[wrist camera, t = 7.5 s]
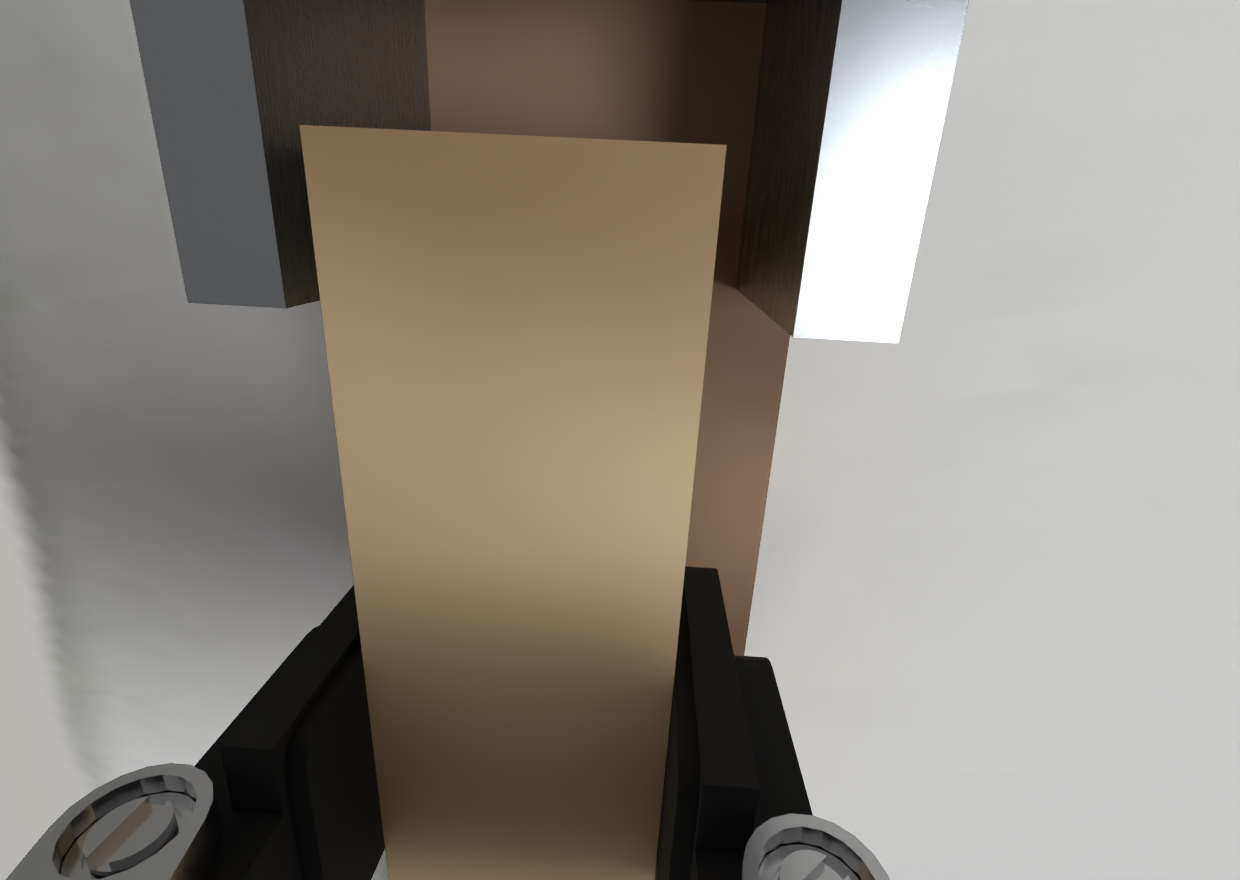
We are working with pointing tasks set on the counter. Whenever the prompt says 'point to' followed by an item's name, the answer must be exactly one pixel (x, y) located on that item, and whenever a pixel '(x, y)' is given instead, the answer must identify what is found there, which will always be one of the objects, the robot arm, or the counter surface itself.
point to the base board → (661, 112)
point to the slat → (516, 478)
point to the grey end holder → (399, 99)
